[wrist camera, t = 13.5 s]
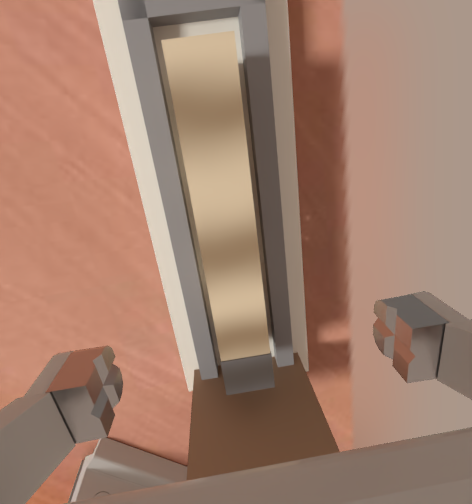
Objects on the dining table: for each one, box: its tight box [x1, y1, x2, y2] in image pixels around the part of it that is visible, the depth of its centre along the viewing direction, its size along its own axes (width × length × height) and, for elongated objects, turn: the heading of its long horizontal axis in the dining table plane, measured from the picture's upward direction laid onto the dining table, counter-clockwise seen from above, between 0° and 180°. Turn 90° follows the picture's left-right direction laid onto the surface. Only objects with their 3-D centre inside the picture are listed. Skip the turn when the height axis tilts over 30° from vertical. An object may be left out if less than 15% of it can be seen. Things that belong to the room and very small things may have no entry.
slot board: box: [93, 0, 340, 480], centre depth 19 cm, size 32×12×11 cm, turn 8°
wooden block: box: [161, 31, 275, 395], centre depth 20 cm, size 22×4×6 cm, turn 8°
